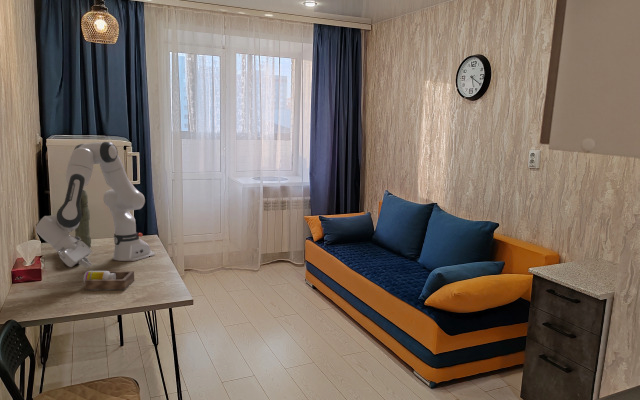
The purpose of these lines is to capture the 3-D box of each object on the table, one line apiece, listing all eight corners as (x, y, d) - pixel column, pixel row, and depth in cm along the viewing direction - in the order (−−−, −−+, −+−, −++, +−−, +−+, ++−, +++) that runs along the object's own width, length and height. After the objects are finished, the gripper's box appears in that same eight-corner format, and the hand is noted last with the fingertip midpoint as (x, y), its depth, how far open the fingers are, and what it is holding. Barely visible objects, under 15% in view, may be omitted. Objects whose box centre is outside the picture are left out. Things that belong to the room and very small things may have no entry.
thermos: (90, 244, 298) (87, 189, 292) (91, 249, 287) (88, 191, 282) (74, 246, 294) (71, 189, 288) (75, 250, 283) (72, 192, 278)
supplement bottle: (83, 286, 220) (111, 287, 220) (82, 272, 219) (111, 273, 220) (89, 282, 226) (117, 283, 227) (89, 269, 226) (116, 269, 226)
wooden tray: (85, 290, 217) (85, 280, 217) (97, 280, 231) (96, 271, 230) (125, 290, 219) (124, 280, 218) (134, 280, 233) (134, 271, 232)
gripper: (61, 246, 210) (85, 267, 212) (80, 235, 230) (102, 255, 232) (51, 256, 210) (75, 277, 213) (71, 244, 230) (93, 264, 233)
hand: (89, 266), depth 223 cm, fingers closed
